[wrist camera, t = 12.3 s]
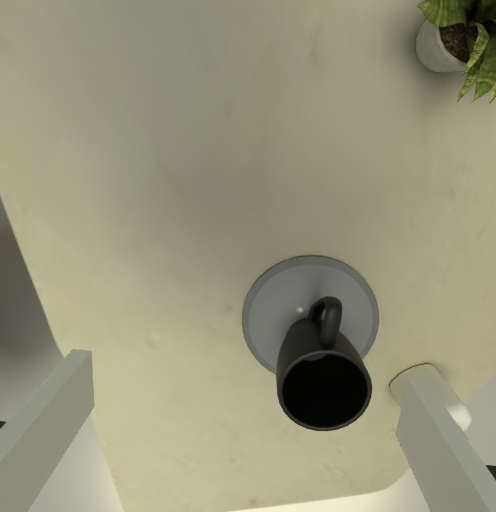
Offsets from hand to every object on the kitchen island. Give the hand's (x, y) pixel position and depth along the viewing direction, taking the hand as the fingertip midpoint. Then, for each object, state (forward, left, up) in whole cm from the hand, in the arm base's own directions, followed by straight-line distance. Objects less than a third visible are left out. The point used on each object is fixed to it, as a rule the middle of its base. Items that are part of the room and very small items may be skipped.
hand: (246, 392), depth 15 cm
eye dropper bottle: (+14, +20, -25) cm, 35 cm away
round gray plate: (+8, +7, -25) cm, 27 cm away
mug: (+8, +7, -24) cm, 27 cm away
